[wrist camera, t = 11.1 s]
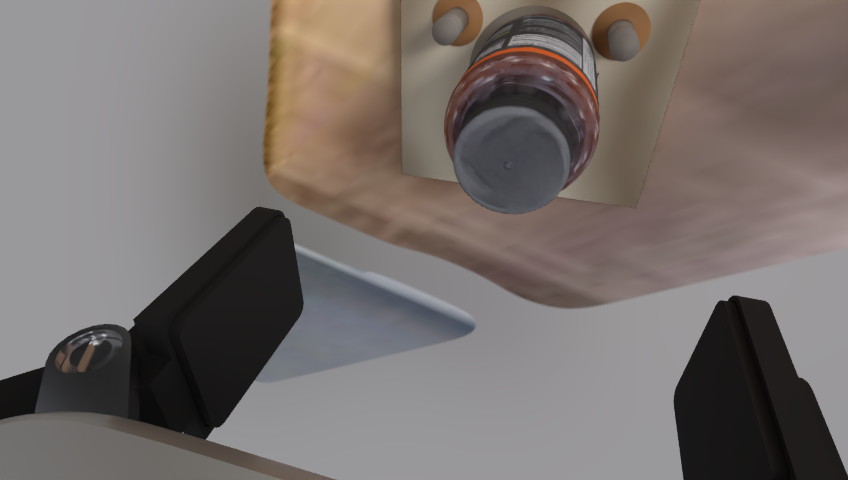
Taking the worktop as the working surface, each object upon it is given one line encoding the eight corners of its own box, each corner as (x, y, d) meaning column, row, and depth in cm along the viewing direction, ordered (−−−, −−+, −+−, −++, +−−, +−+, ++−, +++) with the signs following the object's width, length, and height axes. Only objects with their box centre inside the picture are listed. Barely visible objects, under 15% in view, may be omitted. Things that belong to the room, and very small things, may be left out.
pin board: (719, -84, 22) (743, -80, 18) (634, 198, 30) (640, 236, 26) (407, -94, 24) (379, -93, 21) (407, 166, 32) (386, 197, 29)
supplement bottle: (550, 147, 28) (533, 267, 19) (458, 91, 27) (395, 187, 18) (622, 50, 24) (642, 142, 15) (517, -15, 24) (474, 40, 15)
